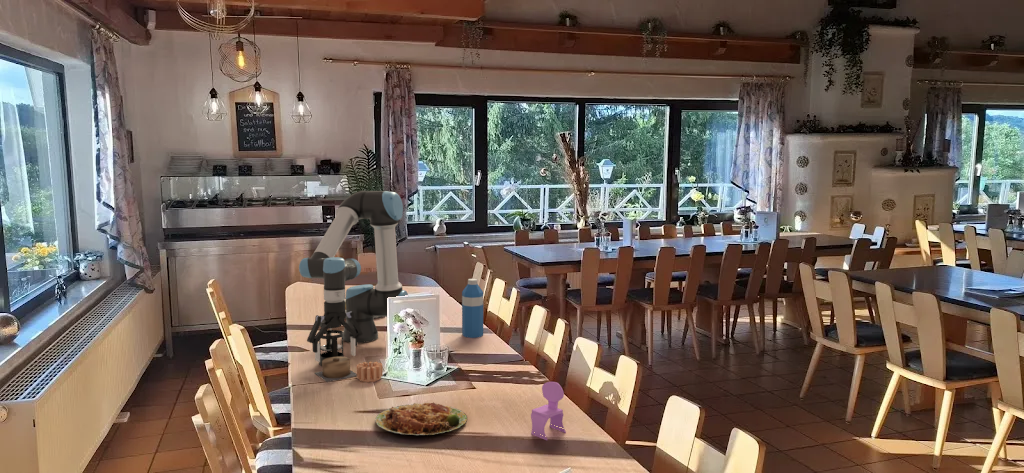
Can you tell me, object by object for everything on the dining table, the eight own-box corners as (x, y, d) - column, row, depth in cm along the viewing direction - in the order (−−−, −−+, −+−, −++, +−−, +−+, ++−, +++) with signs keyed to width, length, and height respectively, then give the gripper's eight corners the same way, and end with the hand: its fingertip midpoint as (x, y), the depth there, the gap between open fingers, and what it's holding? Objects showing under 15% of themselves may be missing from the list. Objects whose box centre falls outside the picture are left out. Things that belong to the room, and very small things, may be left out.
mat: (314, 373, 266) (314, 372, 266) (345, 367, 273) (345, 366, 273) (327, 382, 257) (327, 381, 257) (358, 375, 264) (358, 375, 264)
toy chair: (527, 433, 212) (527, 384, 210) (547, 425, 218) (548, 377, 216) (548, 442, 206) (548, 391, 204) (568, 433, 212) (569, 384, 211)
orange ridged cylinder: (352, 377, 262) (352, 364, 261) (375, 373, 267) (375, 359, 267) (363, 384, 255) (363, 370, 254) (386, 379, 260) (386, 366, 259)
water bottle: (482, 338, 316) (482, 281, 313) (461, 337, 316) (461, 281, 313) (483, 332, 326) (483, 277, 322) (463, 332, 326) (462, 277, 323)
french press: (316, 360, 282) (314, 302, 279) (340, 357, 286) (339, 300, 283) (323, 369, 271) (321, 309, 268) (348, 365, 276) (346, 306, 273)
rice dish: (423, 403, 240) (423, 387, 239) (486, 420, 222) (485, 403, 222) (356, 428, 218) (355, 411, 218) (419, 450, 201) (418, 431, 200)
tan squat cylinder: (318, 372, 266) (317, 357, 265) (343, 367, 272) (343, 352, 271) (328, 380, 258) (328, 364, 257) (355, 374, 264) (354, 359, 263)
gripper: (304, 306, 251) (306, 365, 254) (371, 298, 266) (371, 355, 268) (297, 302, 257) (298, 360, 260) (362, 295, 272) (363, 350, 274)
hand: (335, 358), depth 264 cm, fingers open, 13 cm apart
